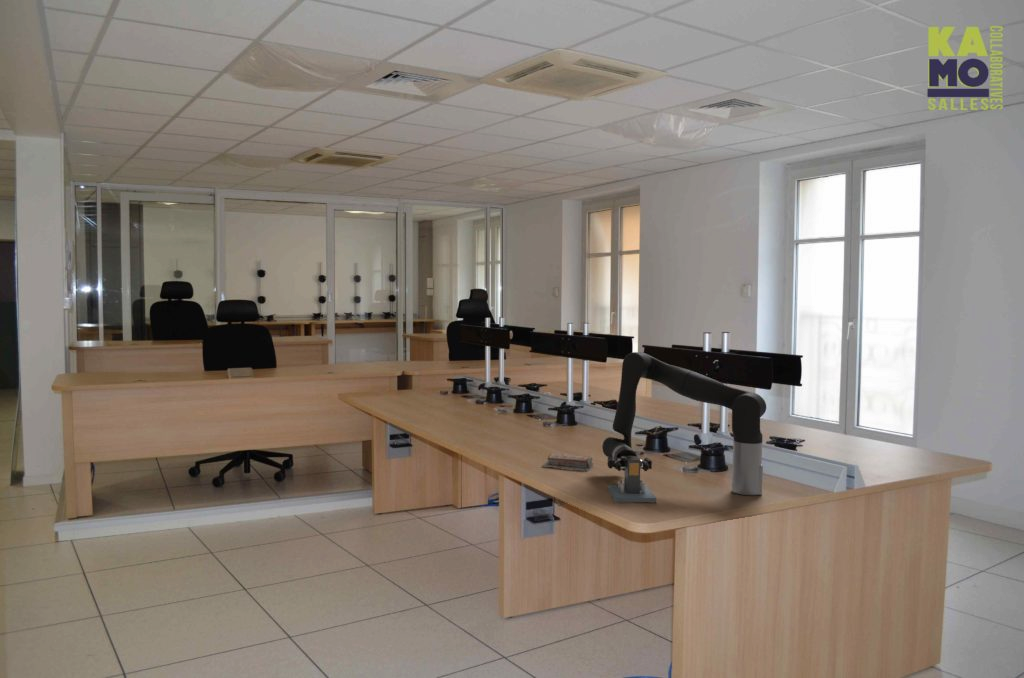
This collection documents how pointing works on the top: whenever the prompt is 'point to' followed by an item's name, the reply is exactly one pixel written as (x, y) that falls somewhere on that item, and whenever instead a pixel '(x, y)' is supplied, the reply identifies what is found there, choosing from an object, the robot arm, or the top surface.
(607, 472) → the top surface
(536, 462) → the top surface
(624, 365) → the robot arm
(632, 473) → the block
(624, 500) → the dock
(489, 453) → the top surface
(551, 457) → the packaged product
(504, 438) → the top surface
